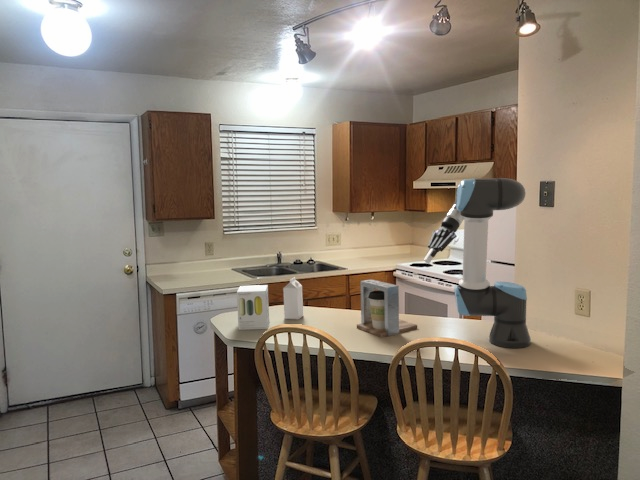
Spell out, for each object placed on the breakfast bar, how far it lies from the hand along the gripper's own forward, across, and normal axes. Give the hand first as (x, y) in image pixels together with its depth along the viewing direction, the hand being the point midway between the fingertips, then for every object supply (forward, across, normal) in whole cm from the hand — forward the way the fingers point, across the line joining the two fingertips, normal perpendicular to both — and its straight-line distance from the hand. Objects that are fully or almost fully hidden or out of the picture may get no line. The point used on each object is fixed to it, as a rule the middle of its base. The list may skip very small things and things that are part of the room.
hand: (426, 261), depth 223 cm
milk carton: (+49, +47, +9) cm, 68 cm away
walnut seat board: (+33, +6, -7) cm, 34 cm away
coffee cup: (+35, +5, -3) cm, 35 cm away
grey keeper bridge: (+35, +6, -4) cm, 36 cm away
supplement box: (+64, +47, +24) cm, 83 cm away
